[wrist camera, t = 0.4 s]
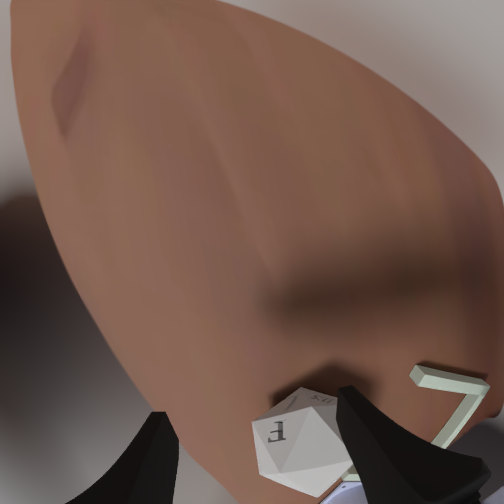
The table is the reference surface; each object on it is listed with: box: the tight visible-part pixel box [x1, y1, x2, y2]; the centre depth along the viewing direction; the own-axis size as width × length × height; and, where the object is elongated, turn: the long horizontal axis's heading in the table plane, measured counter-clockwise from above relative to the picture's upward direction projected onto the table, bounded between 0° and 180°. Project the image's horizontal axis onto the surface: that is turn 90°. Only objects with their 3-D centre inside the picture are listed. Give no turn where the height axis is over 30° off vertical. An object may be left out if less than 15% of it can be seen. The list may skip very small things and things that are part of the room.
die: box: [252, 387, 353, 497], centre depth 19 cm, size 8×9×10 cm
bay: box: [341, 365, 490, 481], centre depth 23 cm, size 14×12×2 cm
